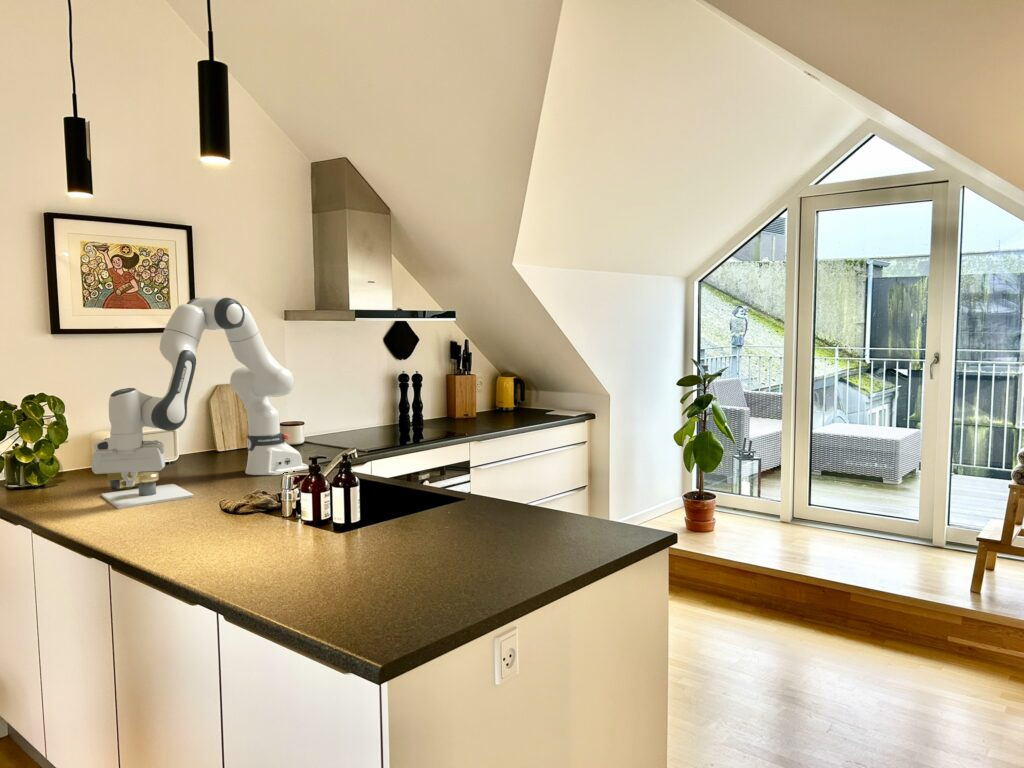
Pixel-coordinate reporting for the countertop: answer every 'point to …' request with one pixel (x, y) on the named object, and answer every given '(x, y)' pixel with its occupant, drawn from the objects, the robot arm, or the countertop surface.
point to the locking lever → (139, 478)
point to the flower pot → (118, 476)
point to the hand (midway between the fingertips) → (130, 486)
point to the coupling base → (146, 495)
